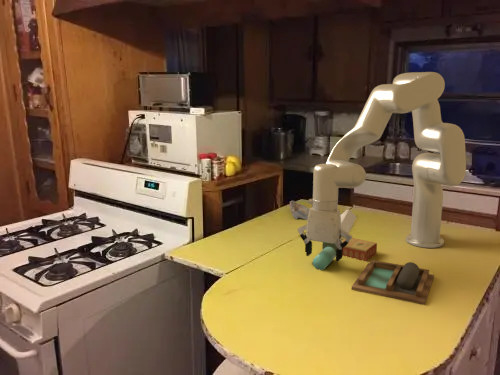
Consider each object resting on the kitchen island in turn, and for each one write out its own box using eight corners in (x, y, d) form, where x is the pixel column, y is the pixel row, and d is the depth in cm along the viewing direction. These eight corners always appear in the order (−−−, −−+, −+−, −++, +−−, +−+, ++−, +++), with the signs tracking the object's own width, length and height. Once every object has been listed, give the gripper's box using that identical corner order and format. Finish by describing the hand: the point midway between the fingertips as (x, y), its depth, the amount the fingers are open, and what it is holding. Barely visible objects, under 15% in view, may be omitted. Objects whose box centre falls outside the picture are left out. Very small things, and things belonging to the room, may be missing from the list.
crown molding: (329, 215, 188) (329, 207, 188) (357, 218, 184) (357, 210, 183) (312, 239, 160) (312, 230, 159) (345, 243, 156) (345, 233, 155)
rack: (368, 265, 135) (368, 258, 135) (433, 277, 126) (434, 269, 126) (351, 289, 120) (351, 281, 119) (424, 304, 111) (425, 296, 110)
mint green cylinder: (322, 258, 142) (323, 245, 141) (335, 260, 140) (336, 248, 139) (312, 268, 134) (312, 255, 133) (326, 271, 132) (326, 258, 131)
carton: (366, 262, 138) (366, 250, 137) (321, 251, 148) (321, 239, 147) (376, 254, 145) (377, 242, 144) (333, 244, 155) (333, 232, 153)
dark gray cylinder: (402, 274, 126) (404, 260, 125) (418, 278, 124) (420, 264, 123) (396, 287, 118) (398, 272, 117) (412, 291, 116) (415, 276, 115)
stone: (315, 215, 181) (292, 208, 180) (311, 225, 182) (289, 219, 181) (311, 203, 197) (290, 197, 197) (307, 213, 198) (286, 207, 198)
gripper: (294, 204, 133) (293, 256, 137) (349, 211, 125) (346, 266, 129) (303, 198, 140) (302, 248, 144) (356, 205, 132) (354, 258, 135)
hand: (323, 257), depth 136 cm, fingers open, 9 cm apart
